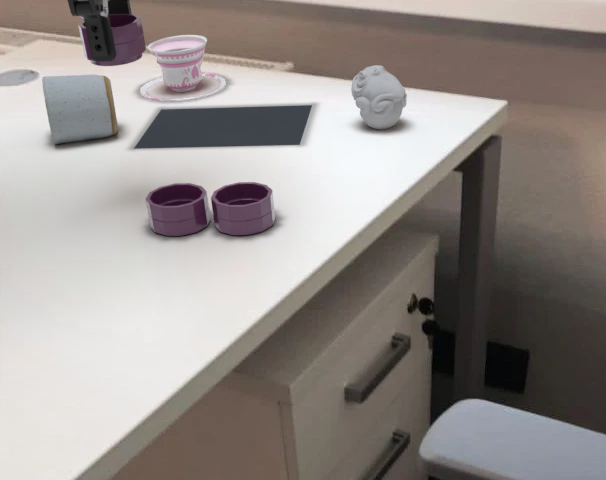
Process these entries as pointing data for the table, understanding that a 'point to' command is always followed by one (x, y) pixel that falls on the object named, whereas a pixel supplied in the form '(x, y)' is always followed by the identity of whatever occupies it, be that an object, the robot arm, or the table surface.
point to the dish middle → (178, 209)
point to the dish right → (243, 208)
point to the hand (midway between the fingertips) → (115, 49)
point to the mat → (226, 127)
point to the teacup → (180, 65)
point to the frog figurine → (378, 97)
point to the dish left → (120, 39)
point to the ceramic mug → (79, 107)
